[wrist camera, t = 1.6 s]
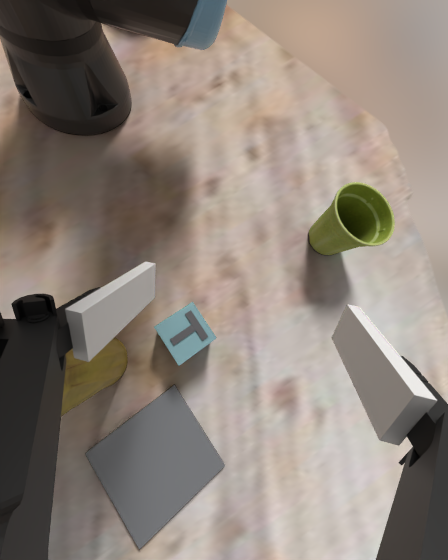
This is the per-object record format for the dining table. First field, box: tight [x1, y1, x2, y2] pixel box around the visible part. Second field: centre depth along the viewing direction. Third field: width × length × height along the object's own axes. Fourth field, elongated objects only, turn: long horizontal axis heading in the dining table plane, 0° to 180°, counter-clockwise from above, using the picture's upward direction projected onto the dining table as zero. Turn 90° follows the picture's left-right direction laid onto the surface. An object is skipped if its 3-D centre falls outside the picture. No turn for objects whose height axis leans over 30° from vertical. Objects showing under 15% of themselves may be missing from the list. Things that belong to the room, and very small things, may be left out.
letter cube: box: [154, 302, 216, 366], centre depth 26 cm, size 5×5×5 cm
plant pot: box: [309, 182, 395, 255], centre depth 32 cm, size 9×9×9 cm
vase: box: [61, 338, 127, 416], centre depth 19 cm, size 6×6×14 cm
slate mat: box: [85, 384, 225, 549], centre depth 24 cm, size 11×11×1 cm
